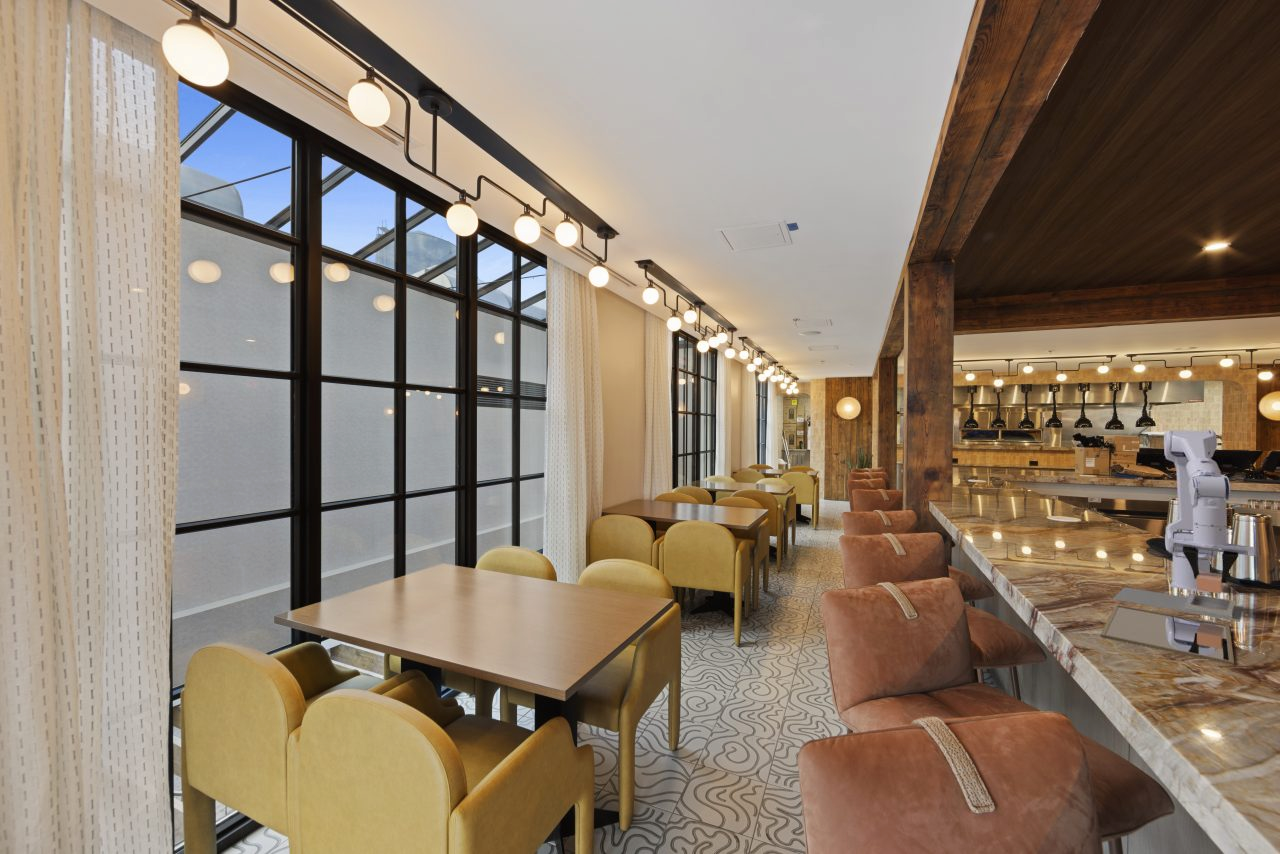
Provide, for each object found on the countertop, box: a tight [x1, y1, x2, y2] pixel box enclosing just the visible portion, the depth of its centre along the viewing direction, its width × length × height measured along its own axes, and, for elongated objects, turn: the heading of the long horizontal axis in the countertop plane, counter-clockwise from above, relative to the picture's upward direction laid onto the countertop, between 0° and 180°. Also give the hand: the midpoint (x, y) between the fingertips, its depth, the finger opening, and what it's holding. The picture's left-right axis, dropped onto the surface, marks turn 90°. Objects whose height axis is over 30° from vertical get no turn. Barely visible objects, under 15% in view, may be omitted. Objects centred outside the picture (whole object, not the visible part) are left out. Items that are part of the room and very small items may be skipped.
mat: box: [1112, 586, 1244, 623], centre depth 136 cm, size 16×22×1 cm
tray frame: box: [1186, 593, 1236, 618], centre depth 132 cm, size 13×8×2 cm, turn 130°
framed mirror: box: [1100, 604, 1235, 666], centre depth 118 cm, size 19×1×28 cm
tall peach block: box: [1197, 571, 1225, 594], centre depth 132 cm, size 4×9×3 cm, turn 130°
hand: (1210, 580), depth 132 cm, fingers closed on tall peach block, 4 cm apart
